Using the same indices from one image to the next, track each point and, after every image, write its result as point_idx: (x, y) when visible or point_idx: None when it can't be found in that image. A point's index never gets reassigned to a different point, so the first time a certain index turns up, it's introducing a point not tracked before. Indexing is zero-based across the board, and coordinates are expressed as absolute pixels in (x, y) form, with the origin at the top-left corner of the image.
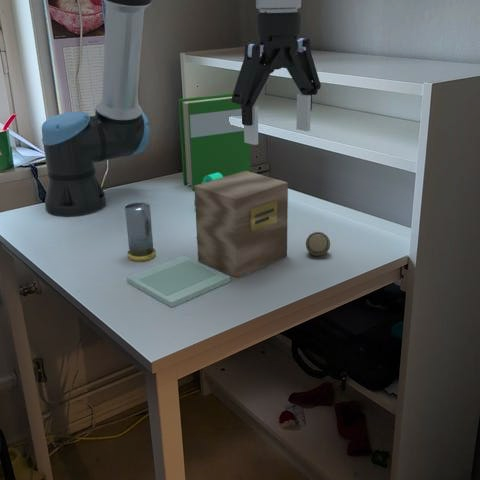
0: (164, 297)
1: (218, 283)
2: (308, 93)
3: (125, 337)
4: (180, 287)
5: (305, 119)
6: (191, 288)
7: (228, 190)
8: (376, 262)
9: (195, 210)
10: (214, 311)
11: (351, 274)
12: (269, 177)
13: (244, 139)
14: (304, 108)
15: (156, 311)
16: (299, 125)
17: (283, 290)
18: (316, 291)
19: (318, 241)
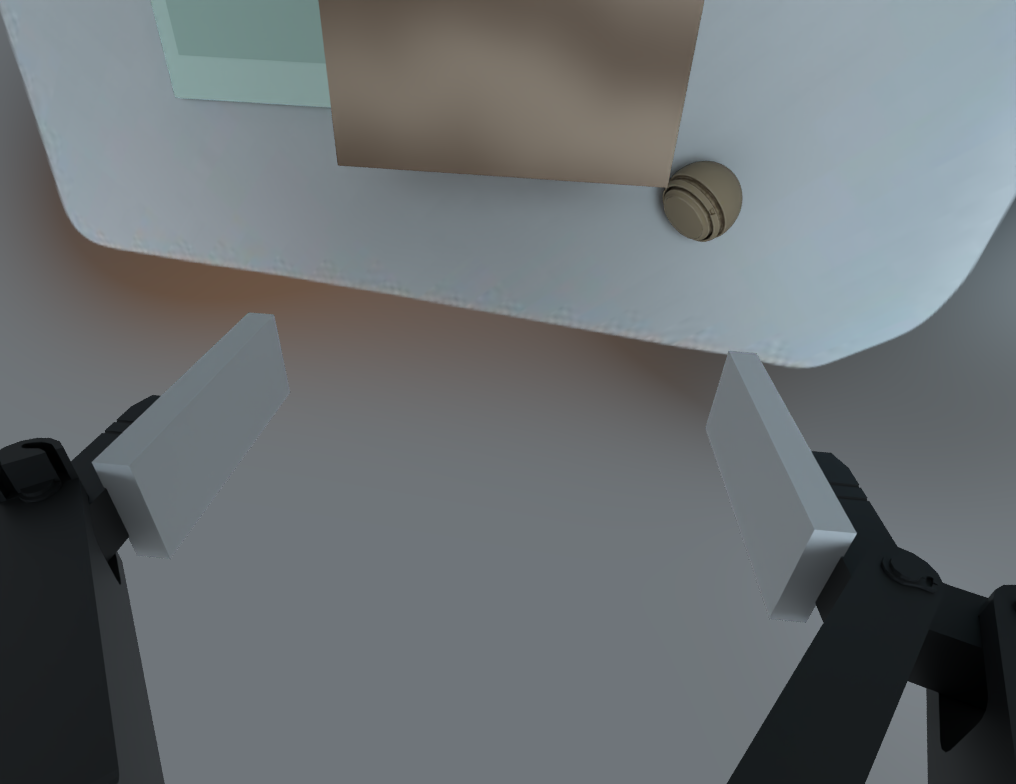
0: (168, 57)
1: None
2: (826, 615)
3: (39, 124)
4: (230, 44)
5: (726, 462)
6: (256, 76)
7: (390, 32)
8: (730, 337)
9: None
10: (266, 196)
11: (631, 326)
12: (693, 48)
13: (240, 321)
14: (748, 508)
15: (141, 79)
16: (729, 389)
17: (456, 253)
18: (505, 312)
19: (685, 221)
